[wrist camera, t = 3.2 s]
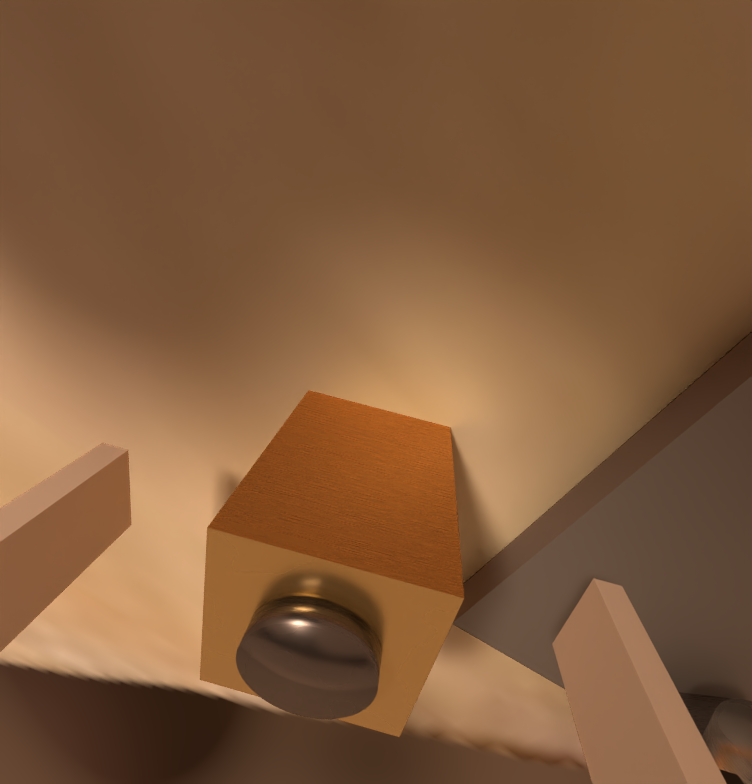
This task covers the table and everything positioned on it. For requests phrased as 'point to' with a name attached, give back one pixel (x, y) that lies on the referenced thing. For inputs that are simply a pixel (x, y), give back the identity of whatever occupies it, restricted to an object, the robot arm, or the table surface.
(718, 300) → the table surface
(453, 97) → the table surface
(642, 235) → the table surface
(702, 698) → the shaft
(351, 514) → the orange rectangular block
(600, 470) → the bolted mounting plate
